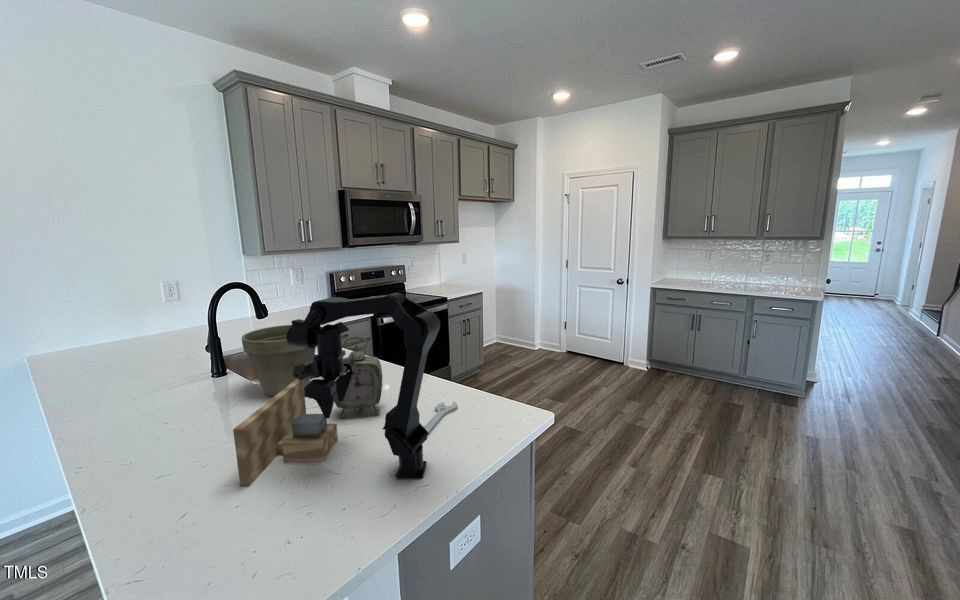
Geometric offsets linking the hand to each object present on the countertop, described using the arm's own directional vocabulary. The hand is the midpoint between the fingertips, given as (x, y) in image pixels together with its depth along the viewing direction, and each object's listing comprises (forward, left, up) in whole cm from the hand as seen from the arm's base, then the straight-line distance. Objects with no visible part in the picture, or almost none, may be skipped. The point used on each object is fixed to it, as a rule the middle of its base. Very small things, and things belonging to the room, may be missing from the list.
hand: (334, 409), depth 100 cm
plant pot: (+44, +35, -13) cm, 58 cm away
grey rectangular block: (+3, +8, -12) cm, 15 cm away
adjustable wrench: (+19, -22, -14) cm, 32 cm away
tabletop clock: (+25, +2, -13) cm, 28 cm away
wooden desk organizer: (+3, +10, -13) cm, 17 cm away
